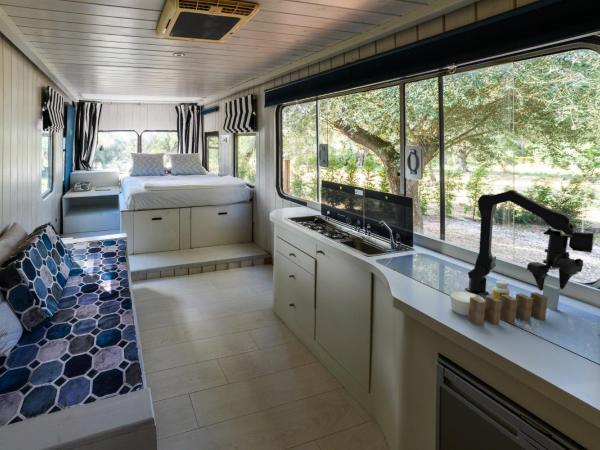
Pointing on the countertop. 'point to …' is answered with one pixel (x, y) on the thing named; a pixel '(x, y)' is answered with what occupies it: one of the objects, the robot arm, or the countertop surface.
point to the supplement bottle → (500, 289)
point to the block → (551, 296)
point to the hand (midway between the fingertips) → (551, 289)
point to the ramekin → (462, 302)
